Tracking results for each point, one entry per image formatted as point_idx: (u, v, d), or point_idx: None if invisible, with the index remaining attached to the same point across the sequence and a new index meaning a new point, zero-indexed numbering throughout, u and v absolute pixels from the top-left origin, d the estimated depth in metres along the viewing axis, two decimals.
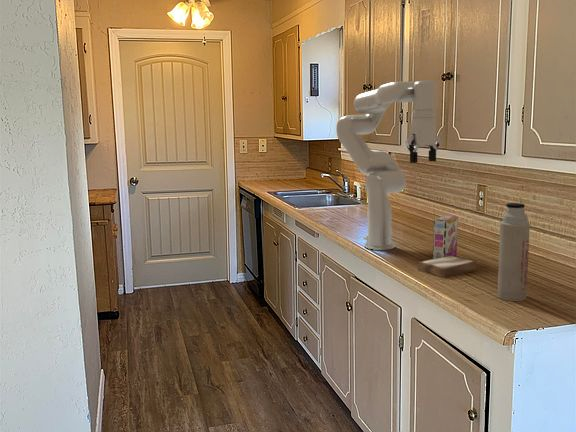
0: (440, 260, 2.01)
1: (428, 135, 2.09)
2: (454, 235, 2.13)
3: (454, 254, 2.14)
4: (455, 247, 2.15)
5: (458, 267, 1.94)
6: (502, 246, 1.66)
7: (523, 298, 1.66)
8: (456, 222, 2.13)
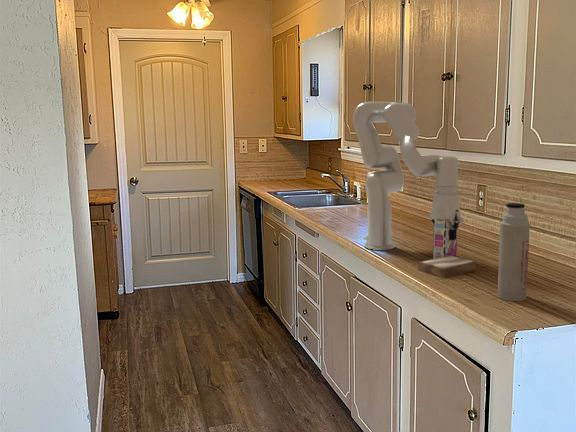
0: (440, 260, 2.01)
1: None
2: None
3: (454, 254, 2.14)
4: (455, 247, 2.15)
5: (458, 267, 1.94)
6: (502, 246, 1.66)
7: (523, 298, 1.66)
8: None
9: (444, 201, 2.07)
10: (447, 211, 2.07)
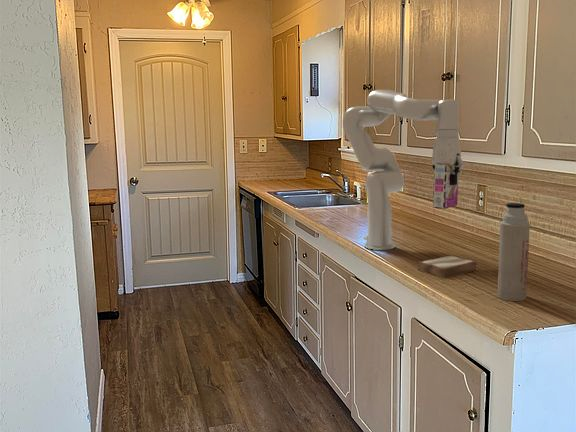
0: (440, 260, 2.01)
1: None
2: None
3: (455, 200, 2.11)
4: (456, 193, 2.11)
5: (458, 267, 1.94)
6: (502, 246, 1.66)
7: (523, 298, 1.66)
8: None
9: (445, 145, 2.04)
10: (448, 155, 2.03)
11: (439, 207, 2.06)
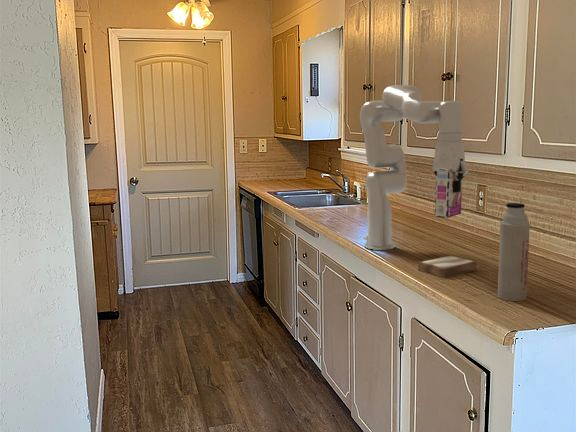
0: (440, 260, 2.01)
1: None
2: None
3: (458, 209, 1.98)
4: (459, 201, 1.98)
5: (458, 267, 1.94)
6: (502, 246, 1.66)
7: (523, 298, 1.66)
8: None
9: (448, 150, 1.90)
10: (451, 160, 1.90)
11: (442, 216, 1.93)
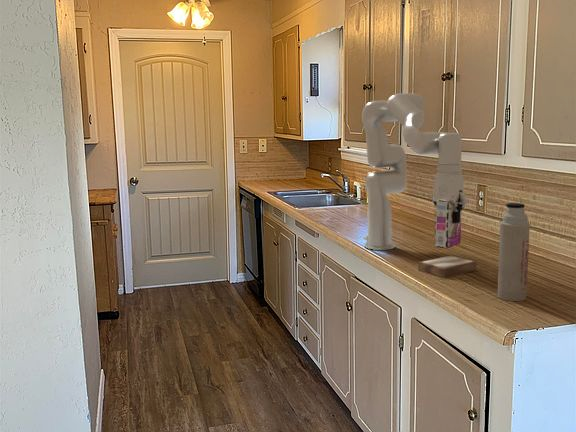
0: (440, 260, 2.01)
1: None
2: None
3: (458, 238, 1.99)
4: (459, 231, 1.99)
5: (458, 267, 1.94)
6: (502, 246, 1.66)
7: (523, 298, 1.66)
8: None
9: (447, 181, 1.92)
10: (450, 191, 1.92)
11: (441, 246, 1.94)
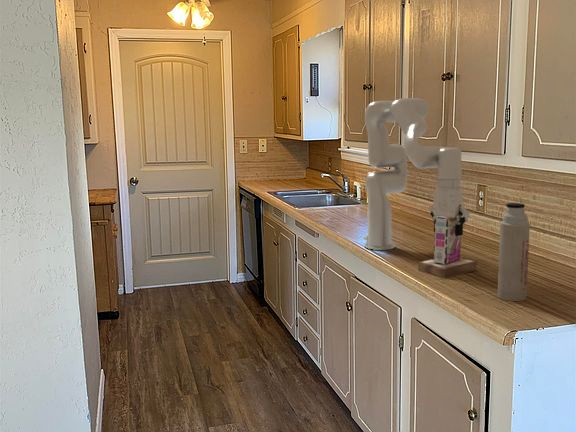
0: None
1: None
2: None
3: (457, 255, 2.00)
4: (458, 247, 2.00)
5: (458, 267, 1.94)
6: (502, 246, 1.66)
7: (523, 298, 1.66)
8: None
9: (447, 196, 1.93)
10: (450, 206, 1.92)
11: (440, 263, 1.96)
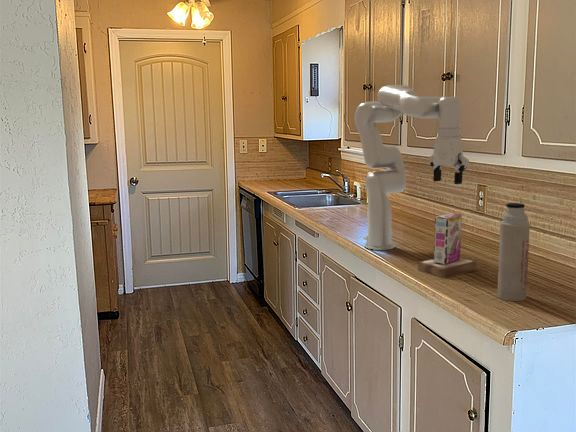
0: None
1: None
2: (457, 234, 1.99)
3: (457, 255, 2.00)
4: (458, 247, 2.00)
5: (458, 267, 1.94)
6: (502, 246, 1.66)
7: (523, 298, 1.66)
8: (459, 220, 1.99)
9: (447, 144, 1.95)
10: (449, 155, 1.94)
11: (440, 263, 1.96)
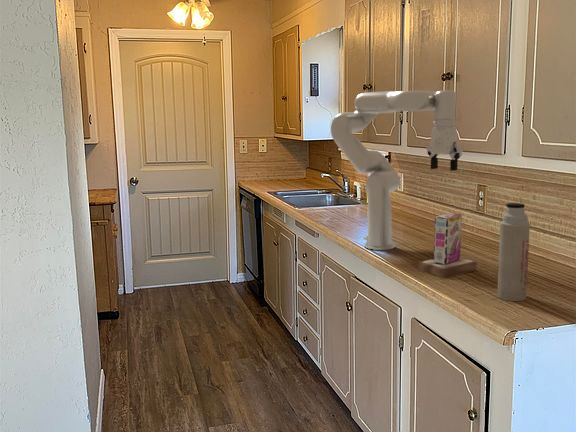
0: None
1: None
2: (457, 234, 1.99)
3: (457, 255, 2.00)
4: (458, 247, 2.00)
5: (458, 267, 1.94)
6: (502, 246, 1.66)
7: (523, 298, 1.66)
8: (459, 220, 1.99)
9: (443, 134, 2.12)
10: (445, 143, 2.12)
11: (440, 263, 1.96)
